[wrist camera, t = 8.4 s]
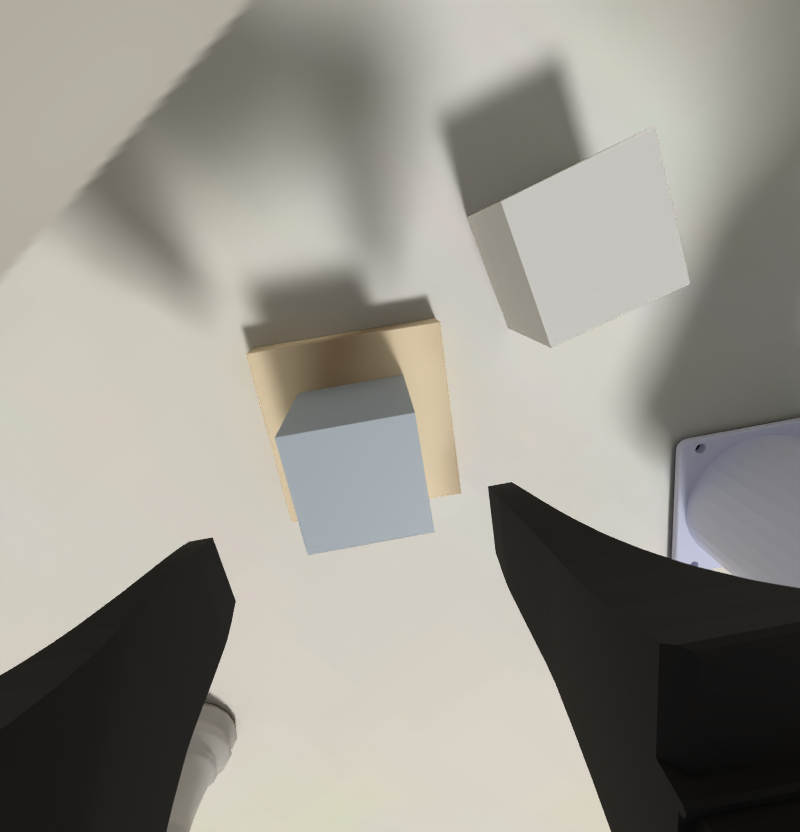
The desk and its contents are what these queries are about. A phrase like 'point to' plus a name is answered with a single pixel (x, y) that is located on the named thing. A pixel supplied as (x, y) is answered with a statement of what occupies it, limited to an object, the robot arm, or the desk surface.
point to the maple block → (357, 362)
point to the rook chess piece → (202, 764)
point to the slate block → (355, 465)
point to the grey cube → (584, 243)
